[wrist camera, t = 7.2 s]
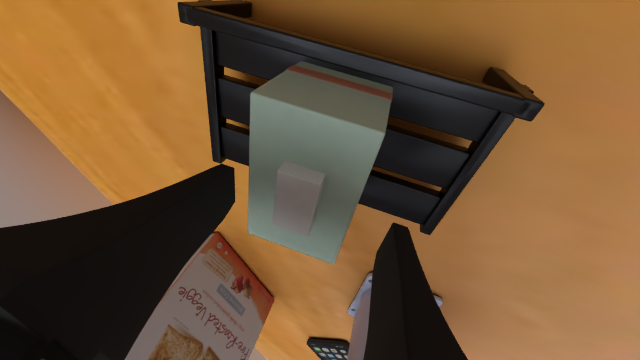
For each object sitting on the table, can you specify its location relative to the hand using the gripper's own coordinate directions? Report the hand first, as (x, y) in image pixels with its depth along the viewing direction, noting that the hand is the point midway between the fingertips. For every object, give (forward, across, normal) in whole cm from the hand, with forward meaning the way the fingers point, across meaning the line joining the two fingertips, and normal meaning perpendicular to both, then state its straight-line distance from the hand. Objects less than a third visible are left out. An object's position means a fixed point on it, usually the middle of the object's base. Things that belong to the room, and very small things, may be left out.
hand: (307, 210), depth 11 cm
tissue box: (+6, 0, 0) cm, 6 cm away
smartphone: (+10, -10, +41) cm, 43 cm away
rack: (+9, 0, -1) cm, 9 cm away
